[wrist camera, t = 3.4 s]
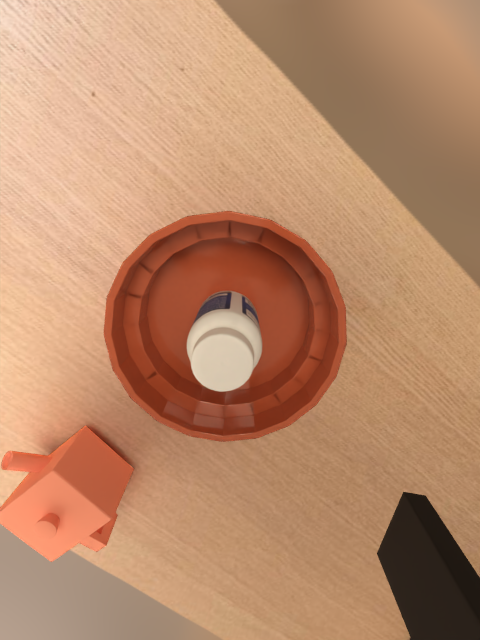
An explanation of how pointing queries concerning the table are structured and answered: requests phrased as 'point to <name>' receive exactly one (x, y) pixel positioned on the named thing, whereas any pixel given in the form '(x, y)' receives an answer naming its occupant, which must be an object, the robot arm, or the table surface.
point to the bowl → (182, 308)
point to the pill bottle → (224, 341)
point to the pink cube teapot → (66, 495)
